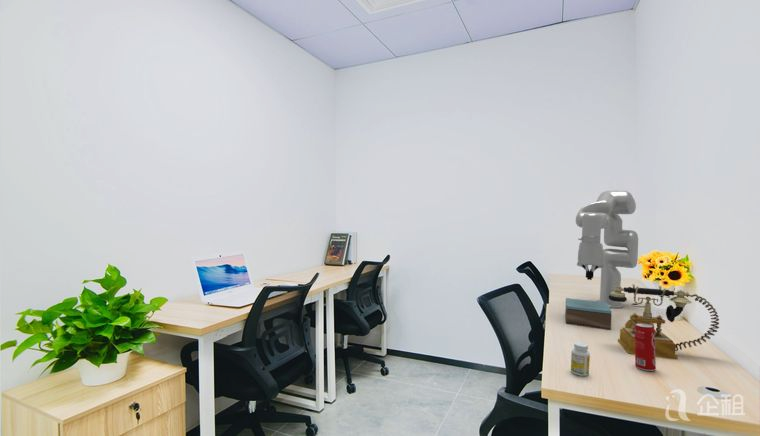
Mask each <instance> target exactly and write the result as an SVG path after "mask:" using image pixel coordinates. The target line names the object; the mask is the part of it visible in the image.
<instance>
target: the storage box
mask: <svg viewBox="0 0 760 436" xmlns="http://www.w3.org/2000/svg"><path fill="white" fill-rule="evenodd" d="M564 310H565V311H564V312H565V313H564V314H565V315H564V316H565V324H566V325H572V326H579V327H587V328H593V329H601V330H607V331H611V330H612V315H613V314H608V313H600V312H592V311H583V310H575V309H567V307H566V306H565V309H564Z"/></svg>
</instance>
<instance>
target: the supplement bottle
mask: <svg viewBox="0 0 760 436" xmlns="http://www.w3.org/2000/svg"><path fill="white" fill-rule="evenodd" d="M573 347H574V348H572V349H571V358H570V372H571V373H572V374H574V375H577V376H580V377H585V376H586V377H587V376H589V374H590V373H589V372H590V358H591V354H590V352H589V345H588V344H587V343H584V342H579V341H576V342H574V344H573Z"/></svg>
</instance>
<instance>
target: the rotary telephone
mask: <svg viewBox="0 0 760 436" xmlns="http://www.w3.org/2000/svg"><path fill="white" fill-rule="evenodd" d="M658 288H659V289H658ZM658 288H649V287H648V288H647V287H639V286H636V285H635V283H633V284H632V287H631V286H628V287H625V286H624V287H622V286H615V289H614V290H615V292H611V295H609V299H610V300H612V301H617V302H620V303H626V301H628V300H627V299H628V298H627V297H626V293H627V294H633V302H634V303H635V304H637V305H641V304H643V302H644V300H645V301H646V302H645V304H644V309H643V313H642V315H638V314H637V313H636V312H634V313H632V314H631V315H629V319H628V320H627V321H626V323H625V325H624V327H622V328H620V330H619V338H617V343H619V345H620V346H621V348H623V349H624V351H626V353H628V355H635V333H634V327H635V325H636V323H646V324H651V325H653V327H654V328H655V358H660V359H661V358H662V359H669V360H678V359H679V358H678V355H677V354H676V352H678V351H679V350H681V351H682V350H683V347H684V348H685V349H687V345H688V346H689V348H692V345H691V344H693V346H695V347H697V343H698V344H699V345H703V343H702V342H705V343H707V340H706V339H708V340H711V337H710V336H713V337H714V336H715V335H716V334H714V333H718V329H720V327H719V326H718V325H720V322H719V321H720V319H719V315H718V311H716V310H717V309H716V308H715V307H714V305H713V304H711V303H710V302H709V301H707V298H704V297H703V296H701V295H698V294H696V293H694V294H690V293H689V291H687V292H685V290H681V289H680V290H677V291H674V290H669V289H667V288H663V289H662V286H661V285H659V286H658ZM637 294H638V295H647V296H646V297H638V298H637V297H636V296H637ZM650 296H660V303H658V302H659V298H651V297H650ZM670 296H673V297H671V298H669V301H671V302H674V303H673V304H674V305H675V307H674V306H673V305H672V304H670V305H667V307H666V309H665V316H666V319H667V321H669V322H670V323H673V322H674V321H675V319H676V317H678V316H680V315H681V314H682V312H683V311H684V309H685V307H686V305H687V304H692V301H691V300H689V297H690V298H691V297H692V298H693V297H695V298H694V301H695V302H698V303H699V304H702V305H703V306H704V305H705V306H704V307H705V308H708V309H707V311H709V314H710V317H711V318H710V319H711V321H710V323H711V324H710V326H711V327H708V329H709V330H706V333H704V334H703V335H701V336H700V337H698V338H696V339H693V340H688V341H684V342H683V341H681V342H679V343H674V341H673V340H672V339H671V338H670V337H669V336H667V335H666V334H664V333H663V330H662V325H663V324H666V320H665V319H663V316H661V315H660V314H658V316H653V315H652V307H651V300H652V303H653V305H654V306H656V307H659V306H662V305H663V301H664V297H670ZM636 298H637V299H636ZM636 300H638V301H636ZM640 300H641V301H640ZM639 301H640V302H639ZM657 303H658V304H657ZM712 323H713V324H712ZM655 324H656V327H655ZM705 338H706V339H705ZM696 342H697V343H696ZM682 346H683V347H682Z"/></svg>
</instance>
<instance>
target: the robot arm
mask: <svg viewBox="0 0 760 436" xmlns="http://www.w3.org/2000/svg"><path fill="white" fill-rule="evenodd" d="M636 203H637V202H636V201H635V198H634V197H633V194H632V193H631V192H629V191H627V190H605V191H603V192H600V194H599V196H598V197H597V199H596V201H595V202H592V203H590V204H587V205H584V206H582V207H581V208H580V210H579V211H578V212H577V214H576V216H575V224H576V226H577V227H579V228H582V229H581V231H582V232H581V236H579V237H577V240H578V241H580V242H579V245H578V251H577V263H576V266H577V267H581V268H583V269H584V270H585V278H586V279H587V281H588V280H589V281H592V279H594V272H595V271H596V270H597V269H600V287H599V289H600V292H599V300H596V301H597V302H606V303H608V305H609V307H610V309H621V308H624V305H623V304H622V302H617V301H612V300H610V299H609V295H611V292H615V290H614V289H615V286H621V284H622V282H621V281H622V275H621V272H620V271H619V269H618V268H626V269H634V268H636V267H637V264H638V261H639V260H638V259H639V258H638V257H639V237H638V232H636V231H634V230H629V229H623V219H622V217H621V215H632V214H634V213H635V211H636V209H637V204H636ZM602 230H603V242H604V245H605V246H608V247H613V248H603V247H604V246H603V243H601V237H602V236H601V232H602ZM614 247H616V248H614ZM618 248H619V249H618ZM620 248H626V249H620ZM589 266H591V268H589ZM621 287H622V286H621Z"/></svg>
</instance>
